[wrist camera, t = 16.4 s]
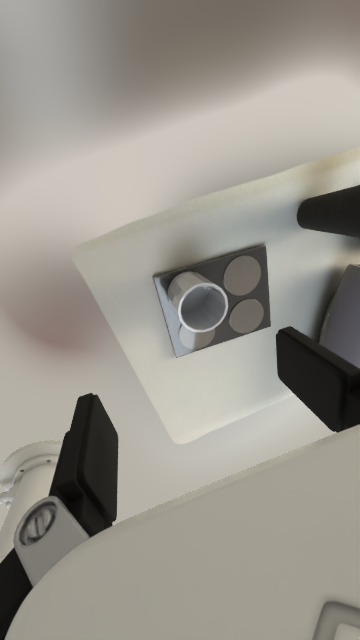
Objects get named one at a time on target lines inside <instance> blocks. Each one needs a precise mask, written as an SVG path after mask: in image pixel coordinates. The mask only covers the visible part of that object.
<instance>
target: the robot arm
mask: <svg viewBox="0 0 360 640" xmlns="http://www.w3.org/2000/svg"><path fill="white" fill-rule="evenodd" d="M276 350H277V371H278V376H279V378H280V380H281V381H282V382H283V383H284V384H285V385H286V386H287V387H288V388H289V389H290V390H291V391H292V392H293V393H294V394H295V395H296V396H297V397H298V398H299V399H300V400H301V401H302V402H303V403H304V404H305V405H306V406H307V407H308V408H309V409H310V410H311V411H312V412H313V413H314V414H315V415H316V416H318V418H319V419H320V420H321V421H322V422H323V423H324V424H325V425H326V426H327V427H328V428H329V429H330V430H332V431H336V432H337V433H336V434H333V435H331V436H328V437H326V438H324V439H321V440H318V441H316V442H313V443H311V444H308V445H306V446H303V447H301V448H298V449H296V450H293V451H291V452H288V453H286V454H283V455H281V456H278V457H276V458H273V459H271V460H268V461H266V462H263V463H261V464H258V465H256V466H254V467H251V468H249V469H246V470H244V471H241V472H239V473H236V474H234V475H231V476H229V477H227V478H224V479H222V480H219V481H217V482H214V483H212V484H210V485H207V486H205V487H202V488H200V489H197V490H195V491H192V492H190V493H188V494H185V495H183V496H180V497H178V498H175V499H173V500H171V501H168V502H166V503H164V504H161V505H159V506H156V507H154V508H152V509H149V510H147V511H145V512H142V513H140V514H138V515H136V516H133V517H131V518H129V519H126V520H124V521H122V522H120V523H118V524H116V525H114V526H112V522H113V521H115V520H116V517H117V471H118V435H117V432H116V430H115V428H114V426H113V424H112V422H111V420H110V418H109V416H108V414H107V413H106V411H105V409H104V407H103V405H102V403H101V401H100V399H99V397H98V395H93V394H92V393H90V394H86V395H84V396H80V397H79V398H78V400H77V404H76V409H75V412H74V416H73V420H72V424H71V428H70V431H68V432H67V433H66V434H65V436H64V440H63V443H62V447H61V451H60V454H59V456H58V455H43V456H38V457H34V458H32V459H29V460H27V461H26V462H24V463H23V464H22V465H20V466H19V468H18V469H17V470H16V473H15V475H14V478H13V483H14V487H12V488H10V489H9V491H7V492H3V493H1V494H0V504H2V503H5V502H7V503H6V508H7V509H8V508H10V509H9V511H8V514H7V516H6V519H5V521H4V524H3V527H2V529H1V532H0V640H360V368H358V367H356V366H355V365H353V364H352V363H350V362H348V361H347V360H345V359H343V358H342V357H340V356H339V355H337V354H335V353H334V352H332V351H330V350H329V349H327V348H325V347H324V346H322V345H321V344H319V343H317V342H316V341H314V340H312V339H311V338H309V337H308V336H306V335H304V334H303V333H301V332H299V331H298V330H296V329H294V328H293V327H291V326H289V327H286V328H283V329H280V330H279V331H278V333H277V334H276Z"/></svg>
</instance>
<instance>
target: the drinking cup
mask: <svg viewBox="0 0 360 640" xmlns="http://www.w3.org/2000/svg"><path fill="white" fill-rule="evenodd" d="M297 220H298V223H299V225H300V226H301V227H302V228H305V229H310V230H316V231H322V232H328V233H334V234H340V235H346V236H352V237H358V238H360V185H358V186H355V187H351V188H347V189H343V190H339V191H336V192H332V193H328V194H324V195H321V196H317V197H313V198H309V199H307V200H306V201H304V202H303V203H302V205H301V206H300V208H299V210H298V214H297Z"/></svg>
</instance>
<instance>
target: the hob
mask: <svg viewBox="0 0 360 640" xmlns="http://www.w3.org/2000/svg"><path fill="white" fill-rule="evenodd" d="M189 271H190V272H196V273H199V274H200V275H202V276H204V277H205V278H207V279H208V280H210V281H211V282H213V283H214V284H216V285H217V286H219V287H220V288H222V289H223V291H224V293H225V294H226V296H227V300H228V309H227V313H226V316H225V317H224V319H223V320H222V322H221V323H220V324H219V325H218V326H217V327H215V328H214V329H212V330H209V331H206V332H193V331H191V330H189V329H187V328H185V326H184V325H183V324H182V323H181V322H180V320H179V318H178V317H177V315H176V313H175V312H174V310H173V308H172V306H171V305H170V302H169V300H168V288H169V285H170V283H171V282H172V280H173V279H174V278H175V277H176V276H177V275H179V274H181V273H183V272H189ZM153 279H154V283H155V286H156V290H157V293H158V297H159V300H160V303H161V307H162V310H163V314H164V317H165V321H166V324H167V328H168V331H169V335H170V338H171V342H172V345H173V349H174V352H175V356H176V358H177V357H180V356H183V355H186V354H189V353H192V352H195V351H198V350H201V349H204V348H207V347H210V346H213V345H216V344H219V343H222V342H225V341H228V340H231V339H234V338H237V337H240V336H243V335H246V334H249V333H252V332H255V331H258V330H261V329H264V328H267V327H270V326H271V321H270V304H269V287H268V270H267V253H266V246H265V245H262V246H258V247H255V248H251V249H248V250H244V251H241V252H237V253H234V254H230V255H227V256H223V257H220V258H216V259H213V260H209V261H206V262H202V263H199V264H195V265H192V266H188V267H185V268H181V269H178V270H174V271H171V272H167V273H164V274H160V275H157V276H153Z"/></svg>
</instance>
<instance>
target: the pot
mask: <svg viewBox="0 0 360 640" xmlns="http://www.w3.org/2000/svg"><path fill="white" fill-rule="evenodd" d="M168 300H169V302H170V305H171V306H172V308H173V310H174V312H175V313H176V315H177V317H178V318H179V320H180V322H181V323H182V324H183V325H184V326H185V328H187V329H189V330H191V331H193V332H206V331H209V330H212V329H214V328H215V327H217V326H218V325H219V324H220V323H221V322H222V320H223V319H224V317H225V316H226V313H227V309H228V300H227V296H226V294H225V293H224V291H223V289H222V288H220V287H219V286H217V285H216V284H214V283H213V282H211V281H210V280H208V279H207V278H205V277H204V276H202V275H200V274H199V273H196V272H190V271H189V272H183V273H181V274H179V275H177V276H176V277H175V278H174V279H173V280H172V282H171V283H170V285H169V288H168Z"/></svg>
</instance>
